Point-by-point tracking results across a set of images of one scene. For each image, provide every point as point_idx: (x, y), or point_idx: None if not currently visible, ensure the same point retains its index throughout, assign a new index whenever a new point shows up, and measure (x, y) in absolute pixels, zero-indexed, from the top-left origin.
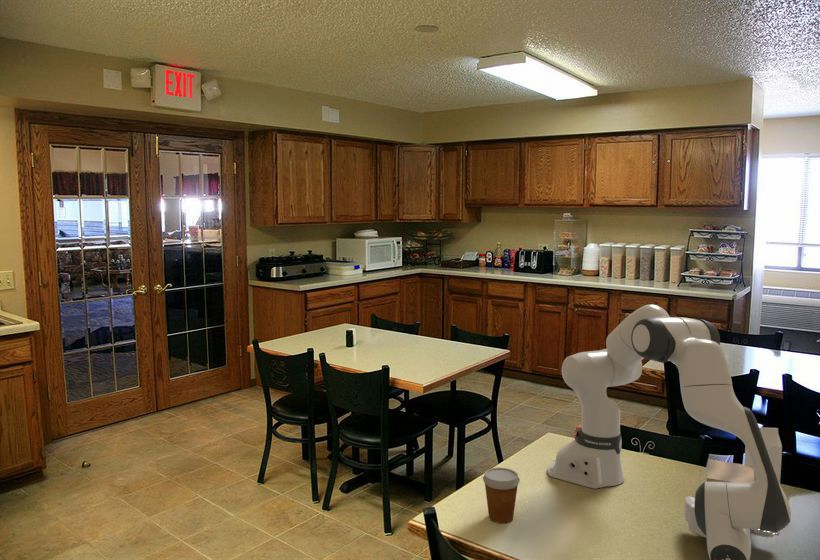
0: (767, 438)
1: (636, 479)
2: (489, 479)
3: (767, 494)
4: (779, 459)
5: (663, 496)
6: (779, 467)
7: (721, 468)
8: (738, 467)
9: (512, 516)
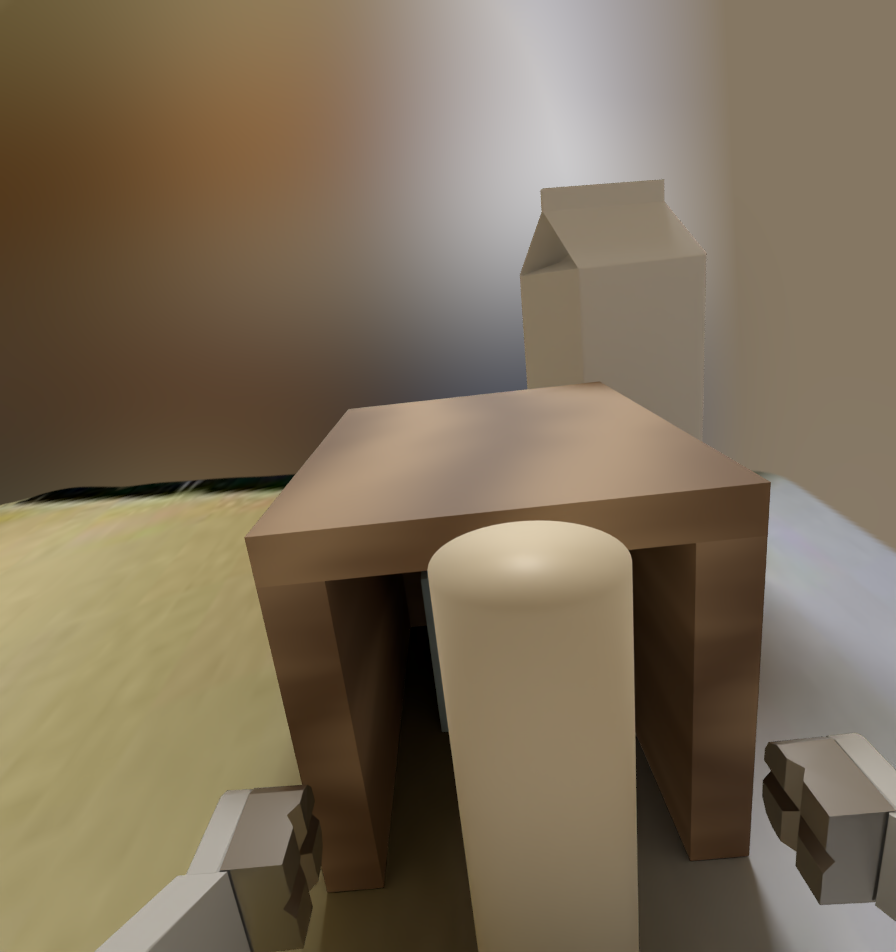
0: (630, 230)
1: (17, 639)
2: None
3: None
4: (697, 330)
5: (76, 744)
6: (698, 374)
7: (417, 429)
8: (524, 402)
9: None
